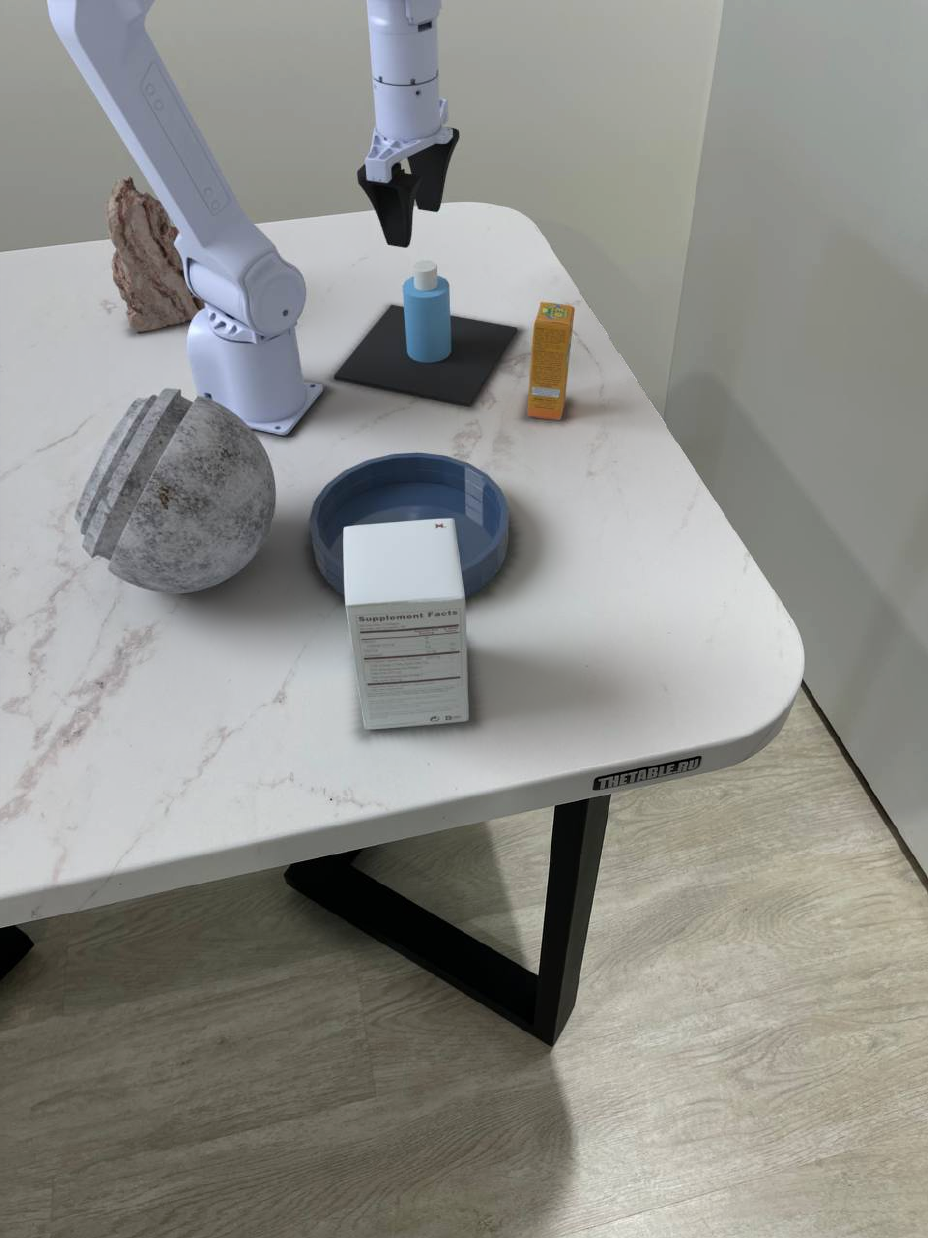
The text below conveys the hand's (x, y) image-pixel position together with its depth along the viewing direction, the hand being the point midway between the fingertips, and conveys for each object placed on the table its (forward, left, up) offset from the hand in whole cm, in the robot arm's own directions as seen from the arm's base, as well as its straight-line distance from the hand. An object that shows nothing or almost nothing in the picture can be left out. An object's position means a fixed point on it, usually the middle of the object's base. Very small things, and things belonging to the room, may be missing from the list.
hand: (413, 226), depth 97 cm
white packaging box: (+18, -45, -11) cm, 50 cm away
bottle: (+3, -5, -10) cm, 12 cm away
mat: (+3, -5, -10) cm, 12 cm away
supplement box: (+17, -10, -11) cm, 22 cm away
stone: (-26, -6, -11) cm, 29 cm away
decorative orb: (-3, -39, -11) cm, 41 cm away
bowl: (+12, -31, -10) cm, 35 cm away
